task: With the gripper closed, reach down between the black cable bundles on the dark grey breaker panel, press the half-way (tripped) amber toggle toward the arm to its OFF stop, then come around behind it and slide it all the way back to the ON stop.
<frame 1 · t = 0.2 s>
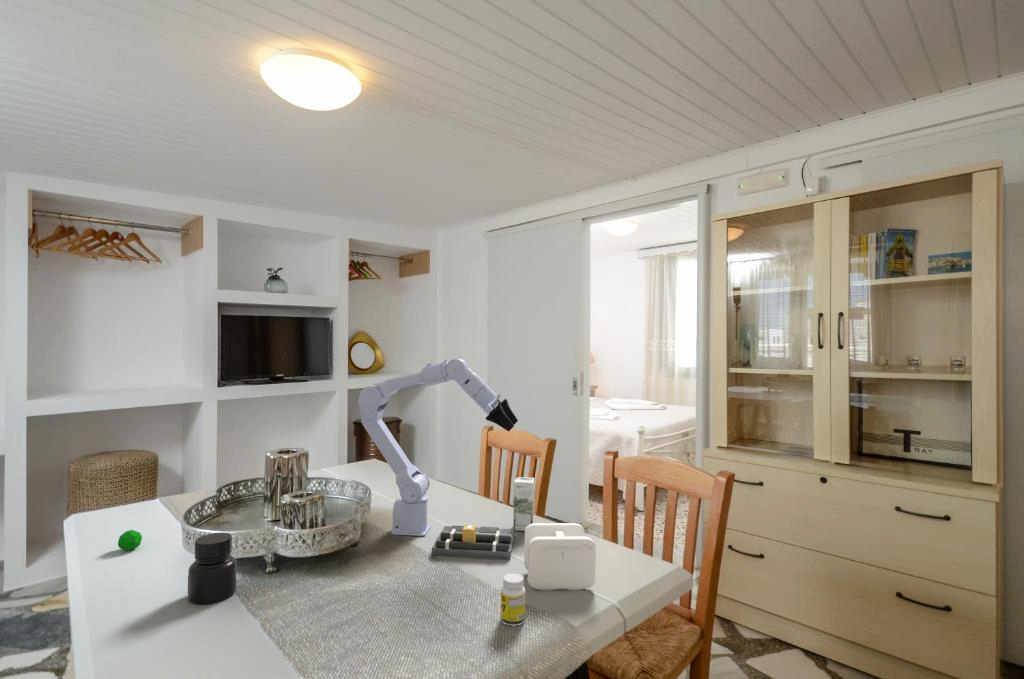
hand: (513, 426, 147), 31 cm above the table, tool tilted 45°, fingers open, 7 cm apart
breaker panel: (475, 545, 140), on the table
cable bundles: (472, 552, 135), resting on breaker panel
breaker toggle: (469, 535, 135), point 4 cm above the table, slide at 4.0 cm
syrup box: (523, 529, 153), on the table
ink bottle: (212, 596, 111), on the table
supplement bottle: (512, 621, 102), on the table
polyhedron: (129, 550, 133), on the table
cable organizer: (558, 582, 119), on the table
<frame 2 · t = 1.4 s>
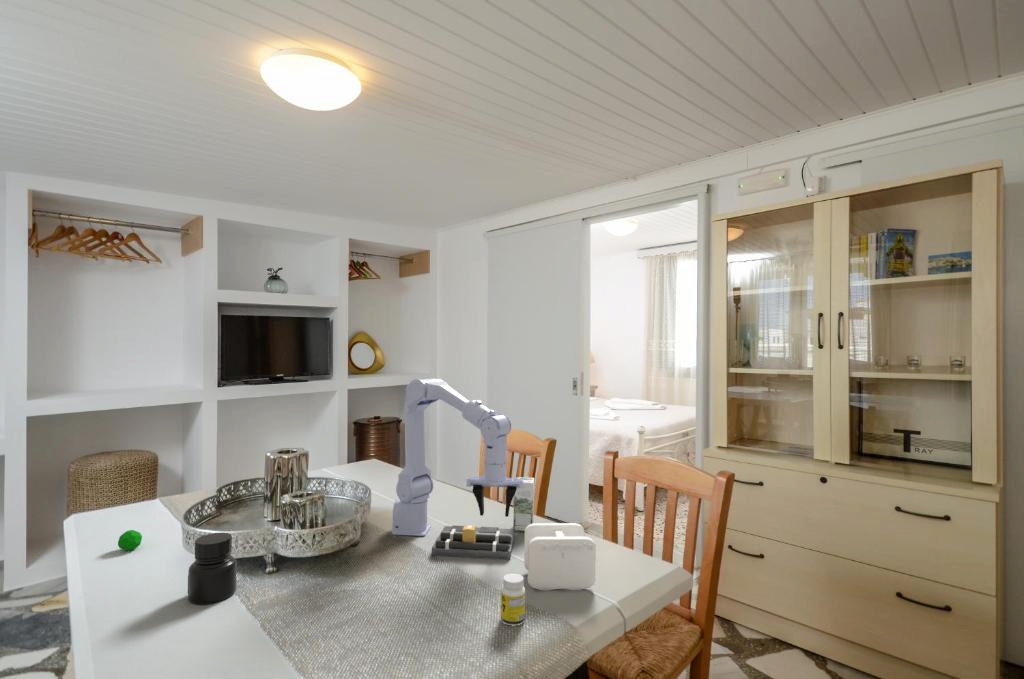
hand: (494, 514, 135), 10 cm above the table, tool pointing down, fingers open, 6 cm apart
nothing on the table moved.
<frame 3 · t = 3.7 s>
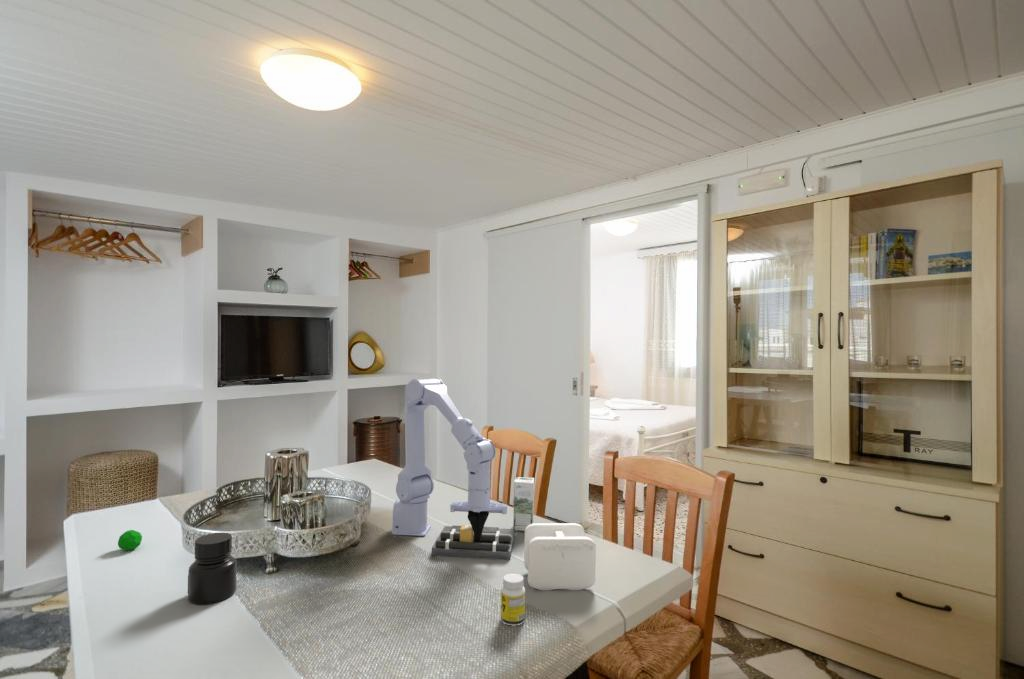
hand: (478, 540, 135), 3 cm above the table, tool pointing down, fingers closed
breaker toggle: (466, 534, 135), point 4 cm above the table, slide at 3.3 cm, touching gripper
everything else where it was.
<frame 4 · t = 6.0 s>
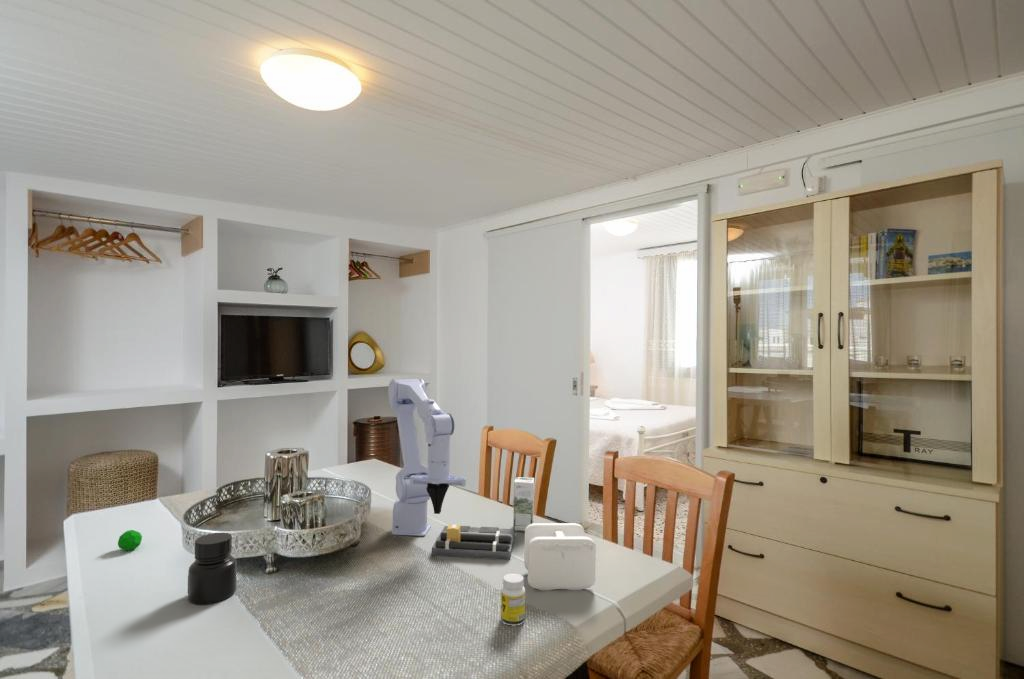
hand: (437, 512, 136), 10 cm above the table, tool pointing down, fingers closed
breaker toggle: (453, 534, 136), point 4 cm above the table, slide at -0.1 cm
everything else where it was.
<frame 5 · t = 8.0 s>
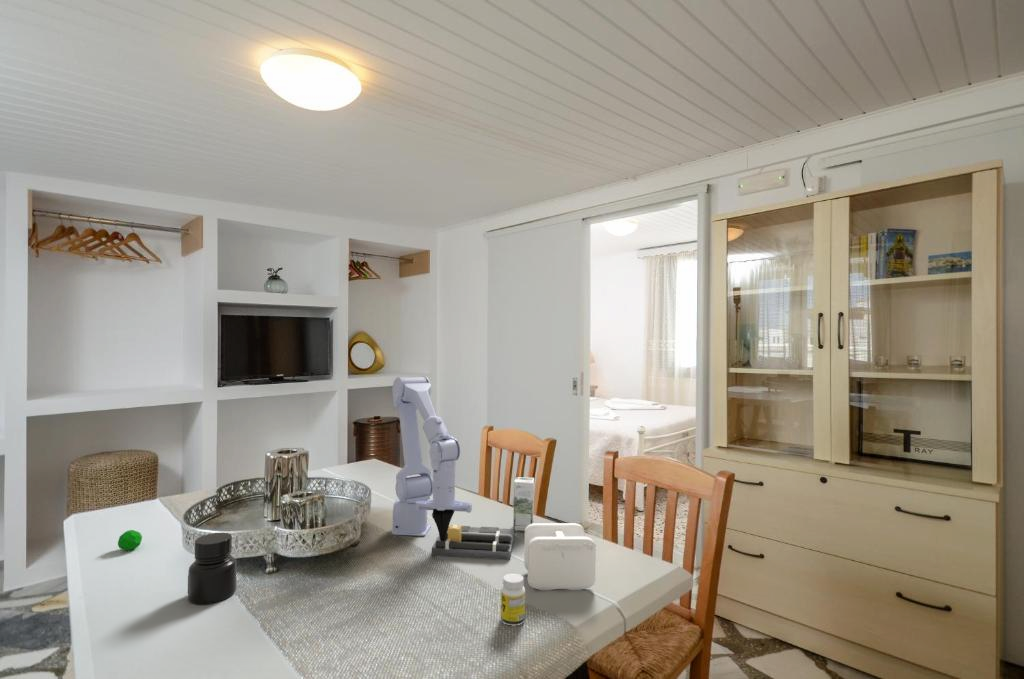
hand: (443, 538, 136), 3 cm above the table, tool pointing down, fingers closed
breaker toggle: (454, 534, 136), point 4 cm above the table, slide at 0.2 cm, touching gripper
everything else where it was.
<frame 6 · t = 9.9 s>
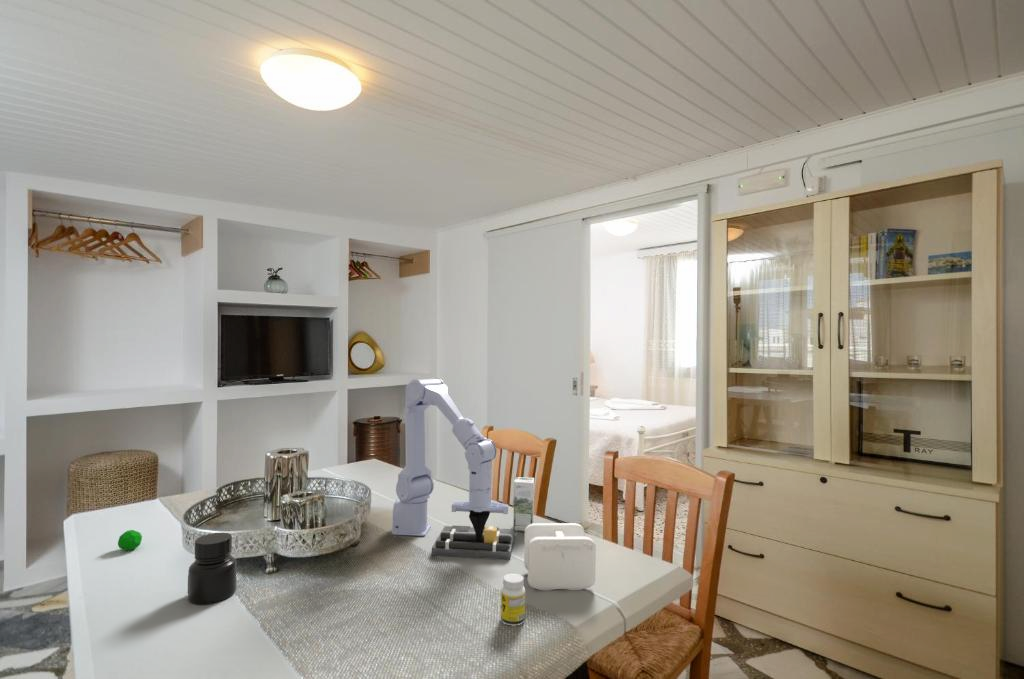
hand: (479, 540, 135), 3 cm above the table, tool pointing down, fingers closed
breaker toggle: (490, 536, 135), point 4 cm above the table, slide at 9.6 cm, touching gripper
everything else where it was.
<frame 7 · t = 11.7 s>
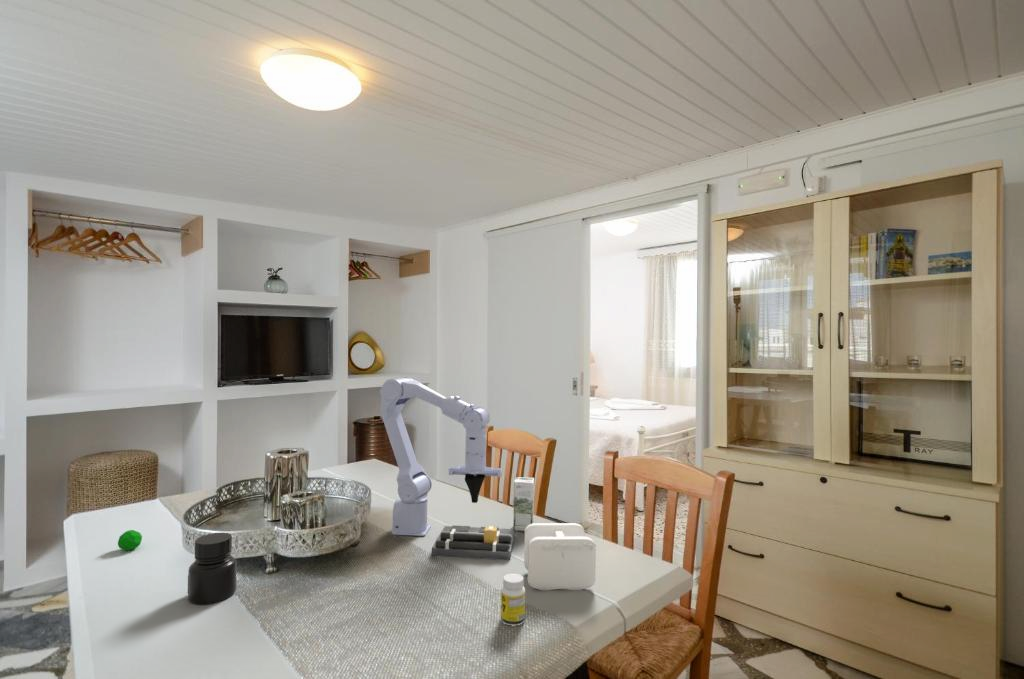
hand: (474, 501, 144), 10 cm above the table, tool pointing down, fingers closed
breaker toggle: (490, 536, 135), point 4 cm above the table, slide at 9.6 cm
everything else where it was.
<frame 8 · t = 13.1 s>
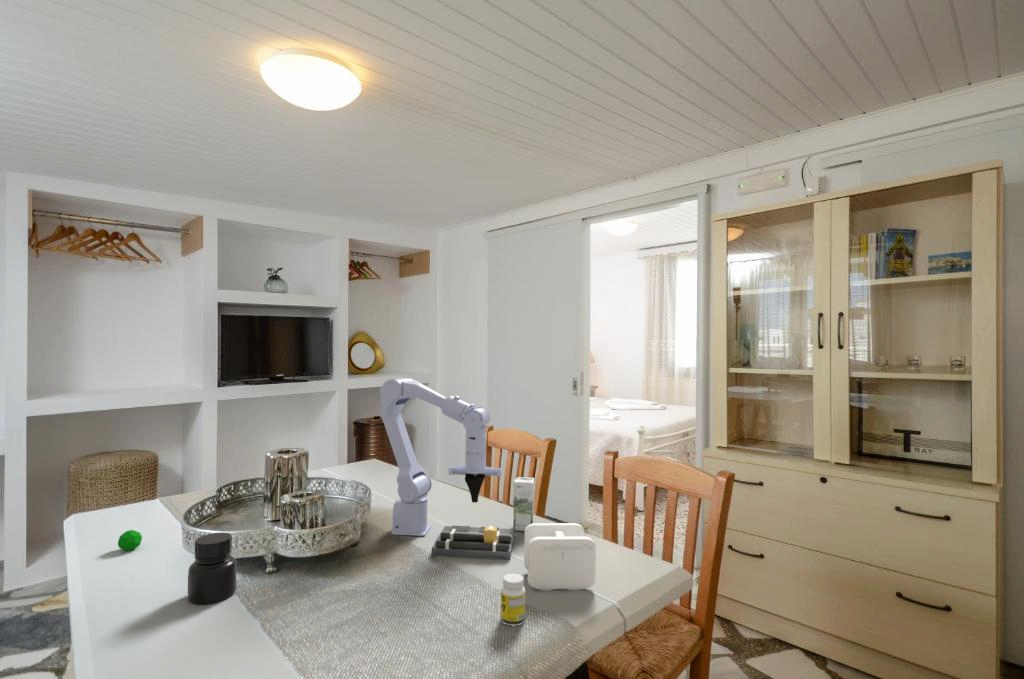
hand: (474, 501, 144), 10 cm above the table, tool pointing down, fingers closed
nothing on the table moved.
at the end: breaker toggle slide at 9.6 cm; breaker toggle touching nothing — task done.
